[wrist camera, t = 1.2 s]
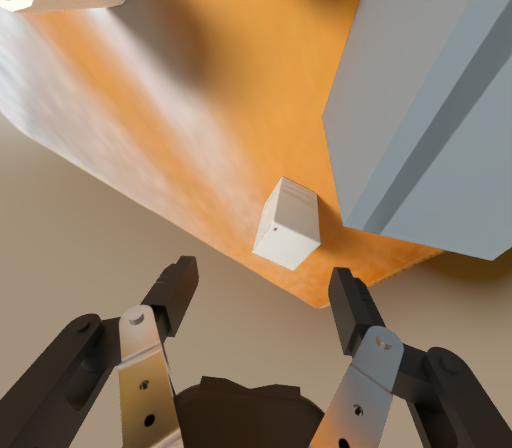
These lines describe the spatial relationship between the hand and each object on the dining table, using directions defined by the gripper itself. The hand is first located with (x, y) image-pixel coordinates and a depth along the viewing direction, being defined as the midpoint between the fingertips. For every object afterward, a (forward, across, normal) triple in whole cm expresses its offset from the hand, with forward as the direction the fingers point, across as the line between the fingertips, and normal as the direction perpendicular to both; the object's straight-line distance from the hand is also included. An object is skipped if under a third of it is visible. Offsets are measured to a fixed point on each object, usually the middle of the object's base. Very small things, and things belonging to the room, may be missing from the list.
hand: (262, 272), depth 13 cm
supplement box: (+28, -4, +7) cm, 29 cm away
